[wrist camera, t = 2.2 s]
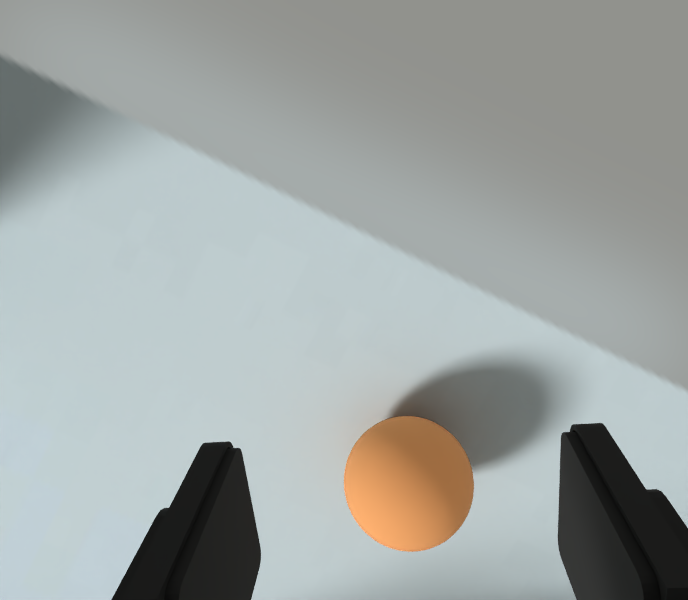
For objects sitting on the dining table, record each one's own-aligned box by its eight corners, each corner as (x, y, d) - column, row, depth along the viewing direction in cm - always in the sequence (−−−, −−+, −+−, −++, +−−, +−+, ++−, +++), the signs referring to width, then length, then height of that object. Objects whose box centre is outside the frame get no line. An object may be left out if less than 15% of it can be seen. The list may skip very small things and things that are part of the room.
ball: (342, 396, 29) (331, 471, 23) (462, 389, 28) (482, 464, 23) (353, 493, 31) (346, 584, 25) (466, 489, 30) (485, 580, 25)
